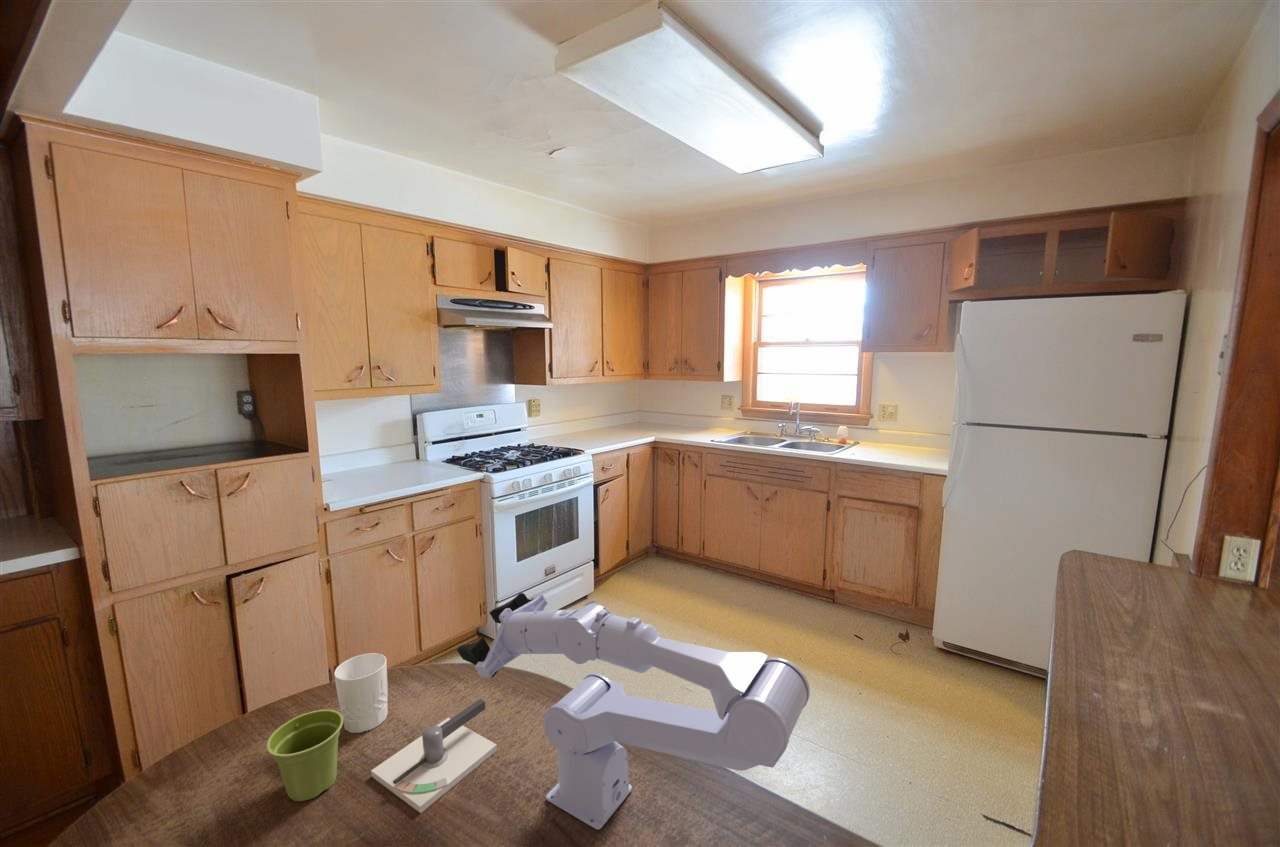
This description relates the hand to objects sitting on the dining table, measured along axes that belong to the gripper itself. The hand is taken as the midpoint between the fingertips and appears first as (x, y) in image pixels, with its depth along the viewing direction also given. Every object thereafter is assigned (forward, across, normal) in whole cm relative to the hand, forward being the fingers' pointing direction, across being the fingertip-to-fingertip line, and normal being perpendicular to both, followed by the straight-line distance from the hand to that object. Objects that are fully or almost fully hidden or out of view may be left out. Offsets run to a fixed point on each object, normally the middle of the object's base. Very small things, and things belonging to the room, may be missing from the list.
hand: (478, 633), depth 83 cm
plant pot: (+20, +22, +6) cm, 31 cm away
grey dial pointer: (+8, +11, +13) cm, 18 cm away
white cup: (+26, +10, +9) cm, 30 cm away
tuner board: (+8, +12, +13) cm, 20 cm away
